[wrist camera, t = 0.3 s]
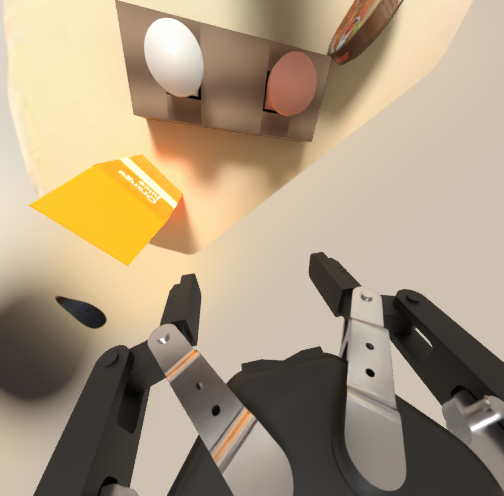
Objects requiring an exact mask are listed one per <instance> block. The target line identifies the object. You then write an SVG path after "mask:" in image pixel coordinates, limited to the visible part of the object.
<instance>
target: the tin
mask: <svg viewBox="0 0 504 496" xmlns="http://www.w3.org/2000/svg"><path fill="white" fill-rule="evenodd" d="M402 2H403V0H355V1H354V3H353V4H352V6H351V8H350V9H349V11H348V13H347V14H346V16H345V18H344V19H343V21H342V23H341V24H340V26H339V28H338V29H337V31H336V33H335V35H334V37H333V39H332V41H331V43H330V46H329V50H328V52H329V54H330V55H332V57H333V58H334V59H335V61H336V62H337V63H338V64H339V65H343V64H345V63H347V62H349V61H351V60H353V59H355V58H356V57H357V56H359V55H360V54H361V53H362V52H363V51H364V50H365V49H366V48H367V47H368V46H369V45H370V44H371V43H372V42H373V41H374V40H375V39H376V38H377V36H378V35H379V34H380V33H381V32H382V30H383V29H384V28H385V27H386V25H387V24H388V22H389V21H390V20H391V18H392V17H393V15H394V14H395V12H396V11H397V9H398V8H399V6H400V5H401V3H402Z"/></svg>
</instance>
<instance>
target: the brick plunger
mask: <svg viewBox="0 0 504 496" xmlns="http://www.w3.org/2000/svg"><path fill="white" fill-rule="evenodd" d="M316 84H317V76H316V70H315V67H314V65H313V62H312V61H311V59H310V58H309V57H308V56H307V55H306V54H304V53H302V52H298V51H293V52H289V53H287V54H285V55H284V56H283V57H281V59H280V60H279V61H278V62H277V63H276V65H275V66H274V67H273V69H272V71H271V73H270V75H269V77H268V81H267V89H266V97H265V105H264V109H265V110H271V111H276V112H277V113H279V114H281V115H283V116H292V115H295V114H298V113H300V112H302V111H303V110H305V109H306V108H307V107H308V105H309V104H310V102H311V101H312V99H313V97H314V94H315V90H316Z"/></svg>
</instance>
